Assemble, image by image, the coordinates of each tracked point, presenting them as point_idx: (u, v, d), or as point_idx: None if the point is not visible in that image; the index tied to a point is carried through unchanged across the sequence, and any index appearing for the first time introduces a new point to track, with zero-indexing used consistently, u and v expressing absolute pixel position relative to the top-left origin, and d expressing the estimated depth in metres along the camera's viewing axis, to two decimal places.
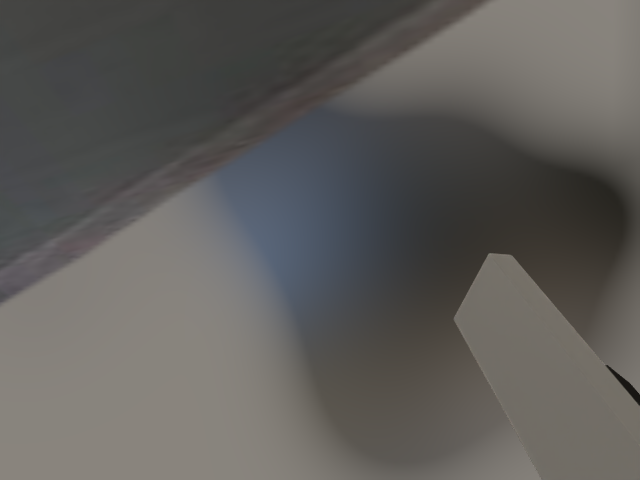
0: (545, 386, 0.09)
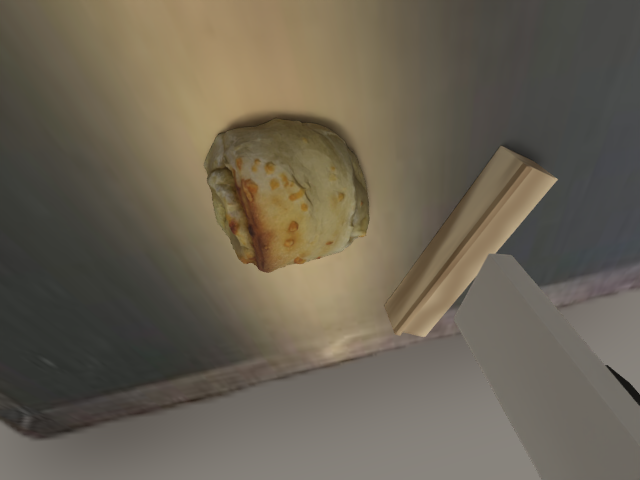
0: (545, 386, 0.09)
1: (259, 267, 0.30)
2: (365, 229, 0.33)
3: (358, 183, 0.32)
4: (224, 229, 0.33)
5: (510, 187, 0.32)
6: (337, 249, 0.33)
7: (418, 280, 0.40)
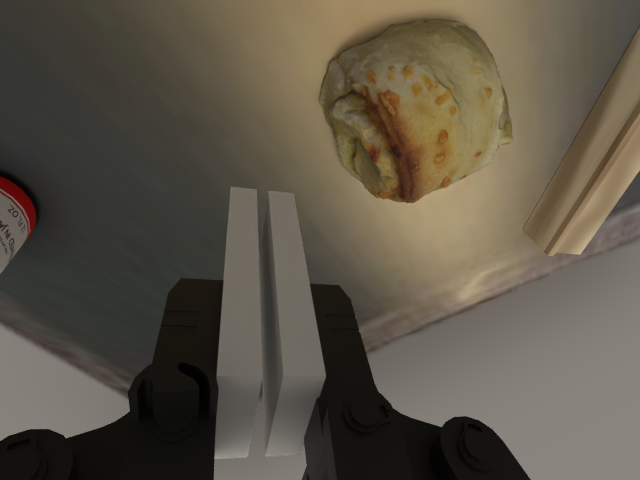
0: (269, 302, 0.10)
1: (405, 196, 0.27)
2: (510, 134, 0.29)
3: None
4: (351, 170, 0.30)
5: None
6: (484, 162, 0.28)
7: (567, 187, 0.34)
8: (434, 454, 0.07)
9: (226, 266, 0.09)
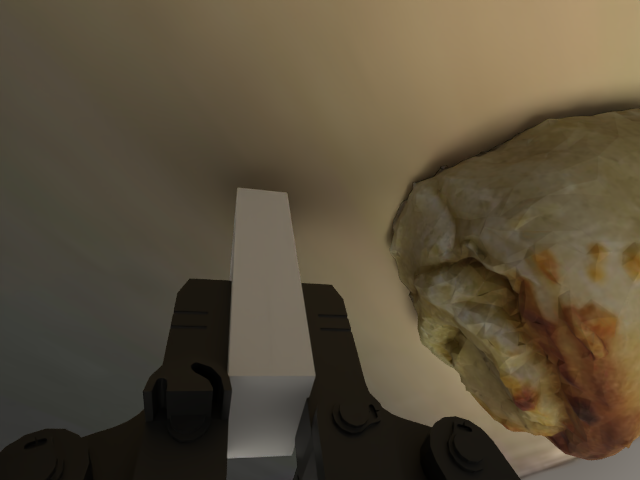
0: None
1: (570, 453, 0.14)
2: None
3: None
4: (440, 355, 0.17)
5: None
6: None
7: None
8: (424, 455, 0.07)
9: (235, 266, 0.09)
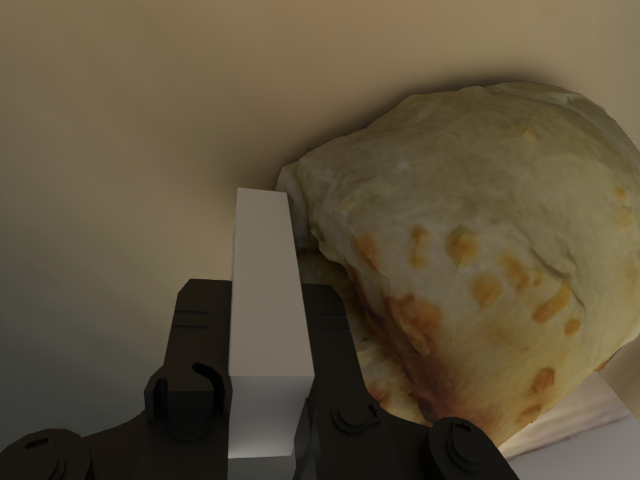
0: None
1: None
2: None
3: None
4: None
5: None
6: None
7: None
8: (423, 455, 0.07)
9: (235, 267, 0.09)
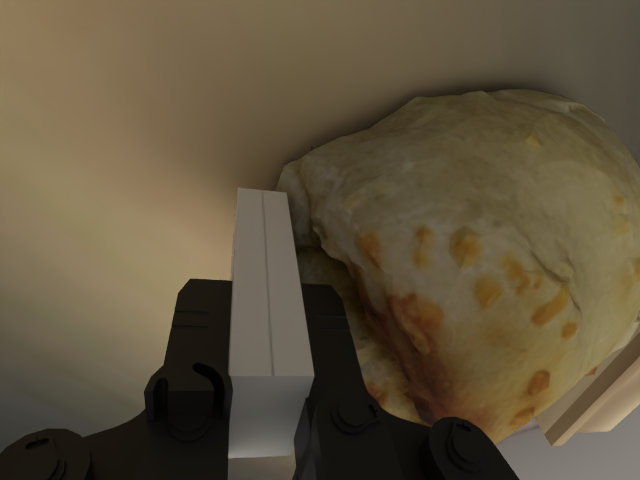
0: None
1: None
2: None
3: None
4: None
5: None
6: None
7: None
8: (423, 455, 0.07)
9: (235, 266, 0.09)
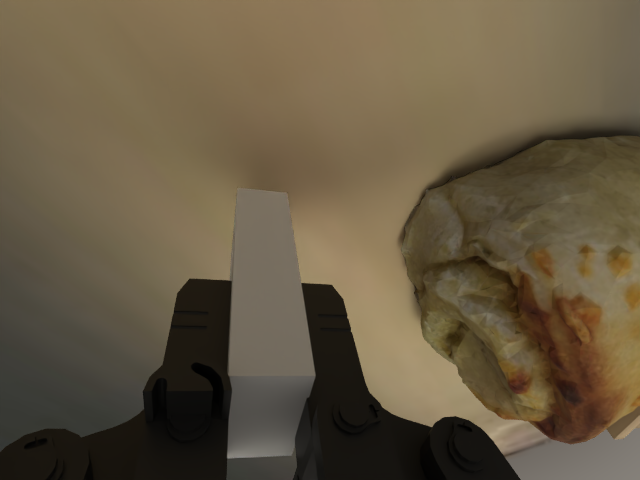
0: None
1: (555, 437, 0.15)
2: None
3: None
4: (440, 349, 0.19)
5: None
6: None
7: None
8: (424, 455, 0.07)
9: (235, 266, 0.09)
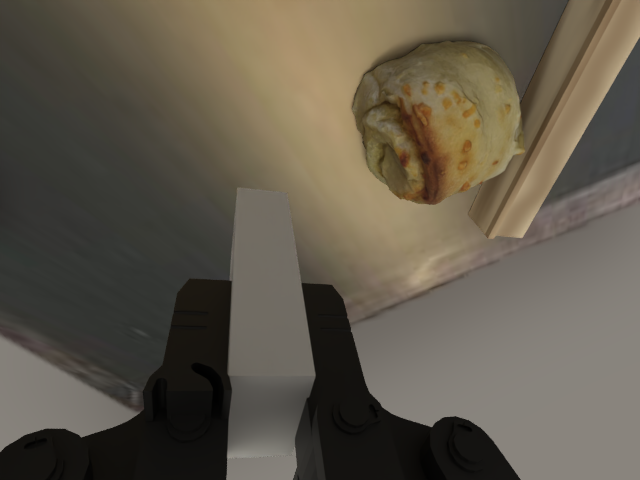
0: None
1: (429, 198, 0.30)
2: (523, 145, 0.32)
3: None
4: (377, 172, 0.33)
5: (604, 15, 0.26)
6: (499, 170, 0.31)
7: None
8: (424, 455, 0.07)
9: (235, 266, 0.09)
